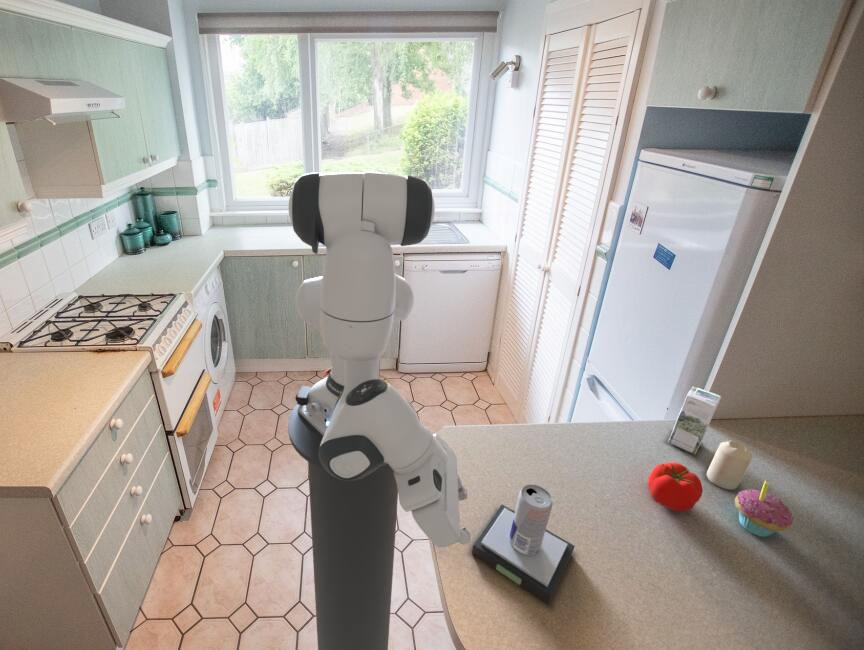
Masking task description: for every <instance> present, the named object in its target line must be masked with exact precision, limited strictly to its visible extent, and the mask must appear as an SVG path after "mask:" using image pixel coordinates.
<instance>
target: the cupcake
mask: <svg viewBox="0 0 864 650" xmlns="http://www.w3.org/2000/svg"><path fill="white" fill-rule="evenodd" d="M769 484H770V482H769V481H768V478H766V479H765V481H764V482H763V486H762V488H761V490H756V489H750V488H749V489H743V490H740V491H739V492H738V493H737V495H736V496H735V498H734V505H735V508H736V510H738V522H739V524H740V525H741V527H743V528H744V529H745V530H746V531H747V532H750V533H751V534H753V535H755V536H758V537H768V536H770V535H772V534H773V533H776V532H781V533H784V532H786V531H788V530H790V529H792V527H793V523H794V519H795V517H793V513H792V510H790V508H789V506H787V505H786V504H785V503H784V502H783V501H782V500H781V499H780V498H777V497H776V496H775V495H773V494H770V493H767V491H768V488H769Z"/></svg>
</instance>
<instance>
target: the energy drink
mask: <svg viewBox="0 0 864 650" xmlns="http://www.w3.org/2000/svg"><path fill="white" fill-rule="evenodd" d="M552 508H553V498H552V495H551V494H550V492H549V491H548V490H547V489H545V488H544V487H542V486H540V485H537V484H533V483H531V484H526V485H524V486H523V487H522V488H521V489H520V491H519V493H518V497H517V501H516V506H515V510H514V511H515V514H514V518H513V523H512V527H511V531H510V536H509V540H510V543H511V545H512V546H513V548H514V549H515V550H516V551H518V552H519V553H521V554H523V555H527V556H532V555H536V554H537V553H538V552H539V551H540V548H541V544H542V541H543V537H544V534H545V530H547V526H548V523H549V519H550V516H551V513H552V510H553V509H552Z"/></svg>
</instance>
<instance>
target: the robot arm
mask: <svg viewBox="0 0 864 650" xmlns="http://www.w3.org/2000/svg"><path fill="white" fill-rule="evenodd" d="M432 191H433V190H432V187H431V186H430V184H428V182H427V181H426V180H425V179H423V178H421V177H417V176H413V175H409V174H406V175H405V176H401V175H397V174H392V173H391V174H390V173H385V172H377V171H375V172H374V171H363V172H353V171H352V172H351V171H350V172H349V171H348V172H347V171H346V172H330V173H329V172H328V173H322V172H321V171H316V172H309V173H304V174H301V175H300V176H299V177H298V178H297V179H296V180H295V181H294V184H293V188H292V189H291V192H290V194H289V199H288V215H289V219H290V222H291V225H292V229H293V232H294V233H295V234H296V236H297V238H299V239H300V241H301V242H303V243H304V244H306V245H308V246H310V247H311V250H312V253H314V254H315V255H318V253H319V245H320V244H321V245H323V246H324V247H325V250H326V253H325V259H324V265H323V269H322V276H318V277H313V278H309V279H305V280H304V281H303V282H302V283H301V284H300V285H299V287H298V288H297V292H296V293H295V294H296V295H295V300H294V301H295V309H296V311H297V314H298V316H299V317H300V319H301V320H302V321H303V322H304V323H305V324H307V325H309V326H311V327H312V328H313V329H315V330H316V331H317V332H318V333H319V334H320V335H321V338H322V342H323V345H324V347H325V348H326V349H327V350H328V351H329V357H330V358H329V359H330V366H329V367H328V369H327V370H324V372H323V373H322V377H323V378H322V379H321V380H319V381H317V382H316V383H315V384H313V385H312V386H308V385H307V386H306V385H301V387H300V389H299V391H298V393H297V394H296V395H295V401H296V405H297V404H299V407H298V412H299V413H300V414H301V415H302V416H303V417H304V418H305V419H306V420H307V421H308V422H309V423H310V424H311V425H313V426H314V427H315V428H316V429H317V430H318V431H319V432H320V433H321V434H322V435H323V439H322V441H321V444H320V448H319V452H318V455H319V460H320V462H321V464H322V466H323V467H324V468H325V470H326V471H327V472H328V473H329V474H331V475H332V476H334V477H335V478H337V479H340V480H343V481H356V480H359V479H362V478H364V477H366V476H367V475H369V474H370V473H372V472H374V471H375V470H376V469H378V468H379V467H380V466H381V465H382V464H383V463H384V462H386V463H388V464H389V466H390V467H391V468H392V469H393V470H394V476H395V479H396V482H397V487H398V501H399V505H400V506H401V508H402V509H403V510H404V511H405V512H406V513H408V512H411V515H412V518H413V519H414V521H415V523H416V524H417V526H418V527H419V528H420V529H421V531H422V532H423V534H424V535H425V536H426V537H427V538H428V539H429V540H430V541H431V543H433V545H434V546H436V547H437V548H439V549H440V548H441V549H443V548H444V549H445V548H447V547H448V548H449V547H450V546H453V545H456V544H457V543H459V544H460V545H461V546H462V545H463V546H464V545H467V544H470V543H471V534H470V531H469V530H468V529H467V528H466V527H462V528H461V524H460V502H459V501H461V502H462V501H464V500H466V499H468V489H466V487H465V485H463V482H462V479H461V478H460V475H459V473H458V458H457V456H456V453H455V452H454V450H453V448H452V447H451V446H450V445H449V443H448V442H447V441H446V440H445V439H444V438H443V437H442V436H440V434H438V433H433V432H432V430H431V429H430V428H428V427H427V426H426V425H425V424H423V423H422V422H421V420H420V417H419V415H418V416H417V414H418V413H417V414H416V412H417V411H416V412H415V411H414V409H415V408H414V409H413V408H412V407H411V405H412V404H411V403H410V402H409V401H408V400H407V399H406V398H405V397H404V396H403V395H402V394H401V392H399V390H398V389H397V388H395V387H394V385H392V384H390V383H389V382H388V381H386V380H383V379H380V373H381V372H380V371H381V368H380V367H381V357H382V355H383V354H384V353H385V352H386V351H387V347H388V345H389V341H390V338H391V336H392V335H391V334H392V330H393V326H394V323H396V322H397V323H398V322H400V321H405V320H406V319H407V318H408V317H409V315H410V314H411V312H412V311H413V307H414V304H415V296H414V290H413V289H412V286H411V284H410V283H409V282H408V280H407V279H405V277H402V276H400V275H398V274H397V273H396V265H395V259H394V252H393V248H392V246H393V245H400V246H401V247H406V246H413V245H417V244H420V243H421V242H423V241H424V240H425V239H426V238H427V237H428V234H429V233H430V230H431V227H432V225H433V224H434V223H433V222H434V219H435V213H436V205H435V200H434V197H433V192H432ZM406 400H407V401H408V402H409V403H410V404H411V405H410V404H409V403H408V402H407V401H406ZM418 417H419V418H418ZM419 420H420V421H419Z"/></svg>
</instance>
